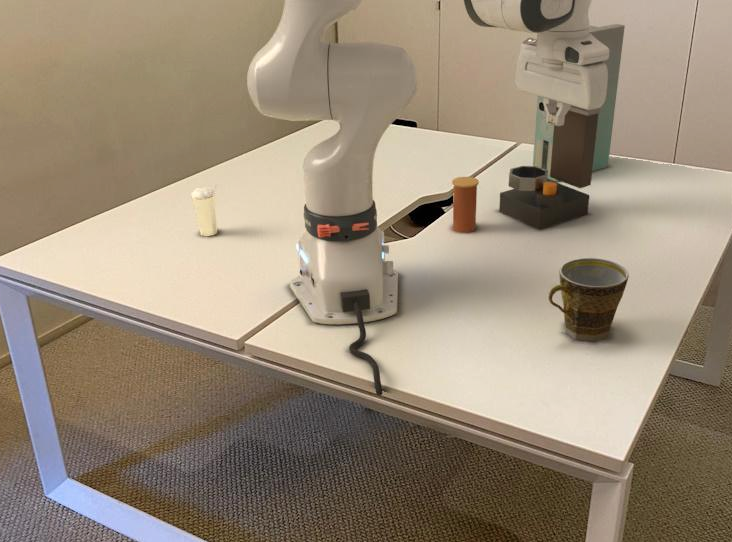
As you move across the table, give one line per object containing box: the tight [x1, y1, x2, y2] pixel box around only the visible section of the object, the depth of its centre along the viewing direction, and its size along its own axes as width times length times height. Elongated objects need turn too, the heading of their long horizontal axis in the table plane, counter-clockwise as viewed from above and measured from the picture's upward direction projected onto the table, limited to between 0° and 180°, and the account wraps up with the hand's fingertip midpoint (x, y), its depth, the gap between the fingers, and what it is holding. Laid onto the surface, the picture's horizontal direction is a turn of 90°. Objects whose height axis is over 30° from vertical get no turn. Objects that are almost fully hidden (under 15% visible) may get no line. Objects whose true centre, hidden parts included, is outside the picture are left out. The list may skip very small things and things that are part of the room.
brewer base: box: [498, 178, 590, 230], centre depth 168 cm, size 13×13×6 cm
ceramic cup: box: [548, 257, 630, 343], centre depth 126 cm, size 13×10×10 cm
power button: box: [543, 181, 558, 195], centre depth 163 cm, size 3×3×2 cm
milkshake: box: [190, 184, 218, 237], centre depth 164 cm, size 4×5×10 cm
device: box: [532, 23, 626, 183], centre depth 183 cm, size 16×8×30 cm, turn 124°
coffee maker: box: [508, 102, 600, 191], centre depth 163 cm, size 12×13×15 cm
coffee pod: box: [451, 176, 480, 233], centre depth 162 cm, size 5×5×10 cm
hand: (555, 124), depth 156 cm, fingers closed
